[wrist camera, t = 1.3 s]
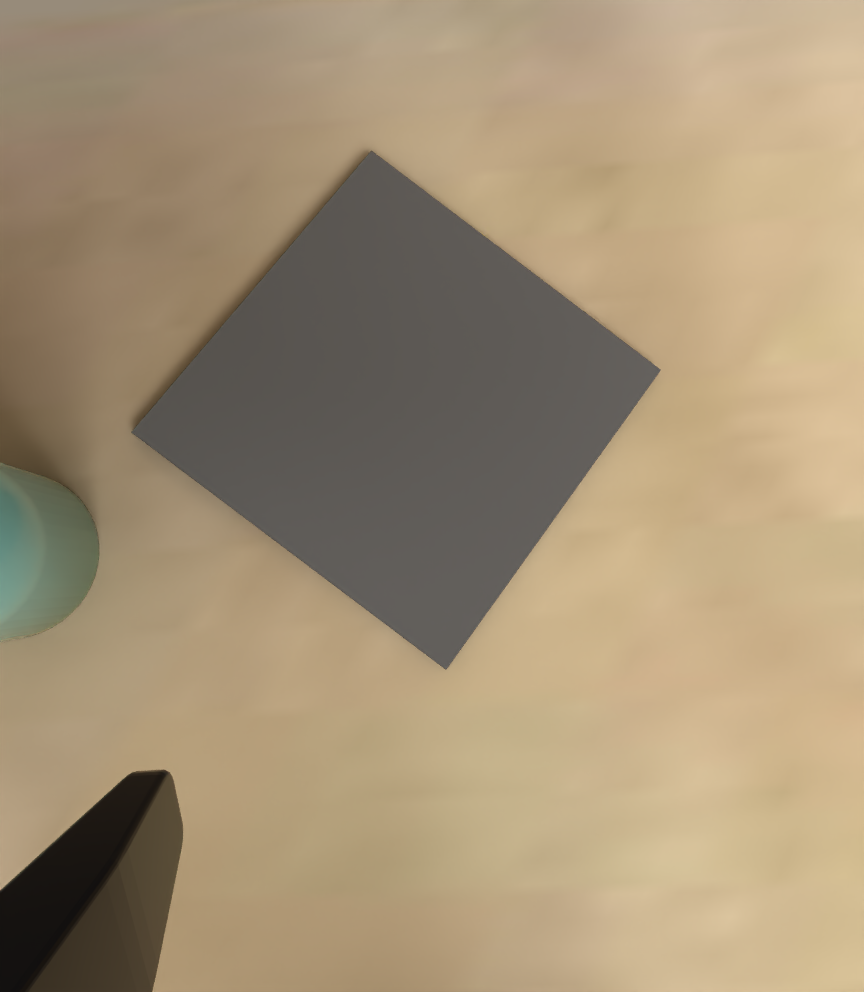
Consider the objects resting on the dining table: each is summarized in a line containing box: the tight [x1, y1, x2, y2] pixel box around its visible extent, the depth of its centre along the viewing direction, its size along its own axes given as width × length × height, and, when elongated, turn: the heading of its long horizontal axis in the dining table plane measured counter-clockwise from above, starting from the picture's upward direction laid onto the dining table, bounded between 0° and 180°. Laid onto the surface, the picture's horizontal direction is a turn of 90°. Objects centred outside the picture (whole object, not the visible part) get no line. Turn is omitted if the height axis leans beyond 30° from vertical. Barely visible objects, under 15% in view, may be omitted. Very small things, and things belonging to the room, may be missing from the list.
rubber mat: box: [132, 151, 660, 669], centre depth 22 cm, size 12×12×1 cm
